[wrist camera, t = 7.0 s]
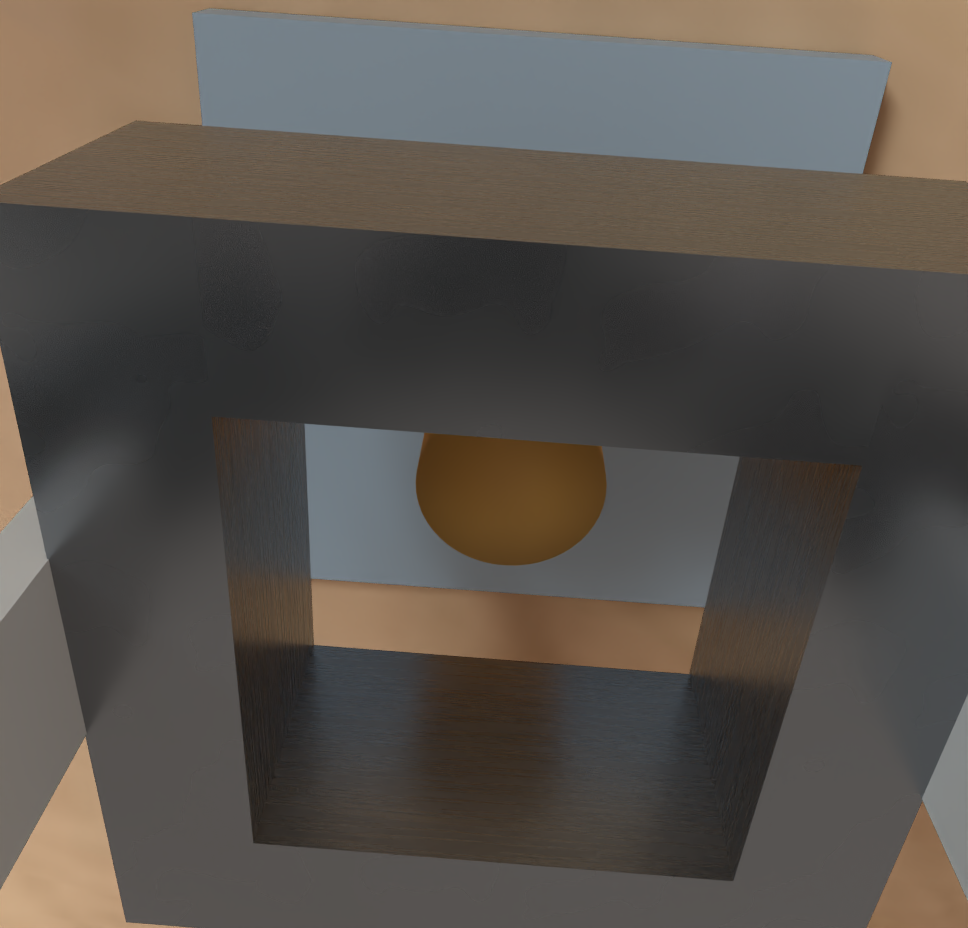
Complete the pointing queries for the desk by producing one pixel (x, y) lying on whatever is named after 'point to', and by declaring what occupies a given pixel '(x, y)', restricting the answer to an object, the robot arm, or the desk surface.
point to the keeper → (549, 127)
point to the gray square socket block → (506, 415)
